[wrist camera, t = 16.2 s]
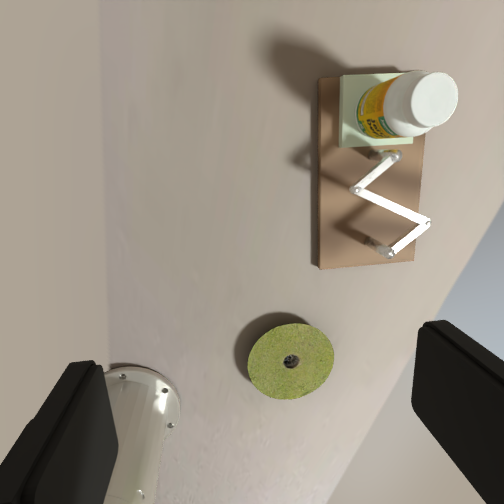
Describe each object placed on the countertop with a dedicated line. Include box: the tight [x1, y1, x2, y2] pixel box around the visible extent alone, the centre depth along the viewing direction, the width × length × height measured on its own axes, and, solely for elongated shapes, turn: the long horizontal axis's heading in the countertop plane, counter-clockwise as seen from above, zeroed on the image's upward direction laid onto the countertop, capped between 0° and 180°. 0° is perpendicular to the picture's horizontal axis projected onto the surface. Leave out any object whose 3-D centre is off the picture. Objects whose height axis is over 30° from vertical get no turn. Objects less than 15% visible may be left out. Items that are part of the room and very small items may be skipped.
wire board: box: [318, 77, 425, 270], centre depth 39 cm, size 21×12×1 cm, turn 3°
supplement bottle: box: [355, 70, 458, 139], centre depth 31 cm, size 5×5×10 cm
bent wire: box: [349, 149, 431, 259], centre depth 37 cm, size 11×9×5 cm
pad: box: [339, 73, 413, 148], centre depth 36 cm, size 7×8×1 cm
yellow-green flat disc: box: [248, 323, 334, 399], centre depth 44 cm, size 11×11×2 cm
